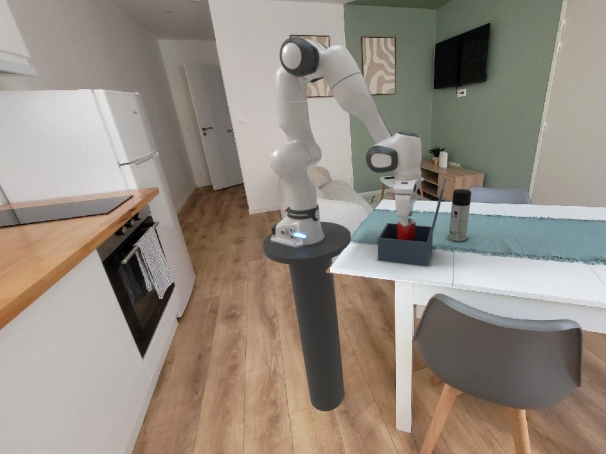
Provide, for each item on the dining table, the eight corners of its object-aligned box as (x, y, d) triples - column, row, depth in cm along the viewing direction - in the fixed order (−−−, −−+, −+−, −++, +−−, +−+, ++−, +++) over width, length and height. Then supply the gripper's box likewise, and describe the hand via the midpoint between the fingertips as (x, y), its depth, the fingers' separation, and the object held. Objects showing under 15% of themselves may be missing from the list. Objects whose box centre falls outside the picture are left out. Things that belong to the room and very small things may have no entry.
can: (395, 254, 106) (395, 223, 101) (399, 247, 112) (399, 217, 107) (413, 256, 104) (414, 225, 99) (415, 248, 110) (416, 218, 105)
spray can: (450, 234, 122) (454, 188, 115) (467, 236, 120) (472, 189, 112) (447, 240, 117) (451, 192, 109) (465, 243, 114) (470, 194, 106)
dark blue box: (378, 260, 104) (377, 238, 101) (387, 243, 117) (387, 222, 114) (427, 266, 99) (429, 243, 96) (431, 247, 112) (433, 226, 108)
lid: (441, 188, 88) (444, 189, 87) (444, 177, 100) (446, 178, 100) (427, 241, 96) (430, 242, 95) (432, 225, 108) (434, 225, 108)
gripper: (404, 175, 107) (403, 210, 113) (392, 189, 90) (392, 230, 95) (421, 175, 106) (420, 211, 111) (412, 190, 88) (411, 232, 93)
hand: (407, 220), depth 103 cm, fingers open, 8 cm apart
